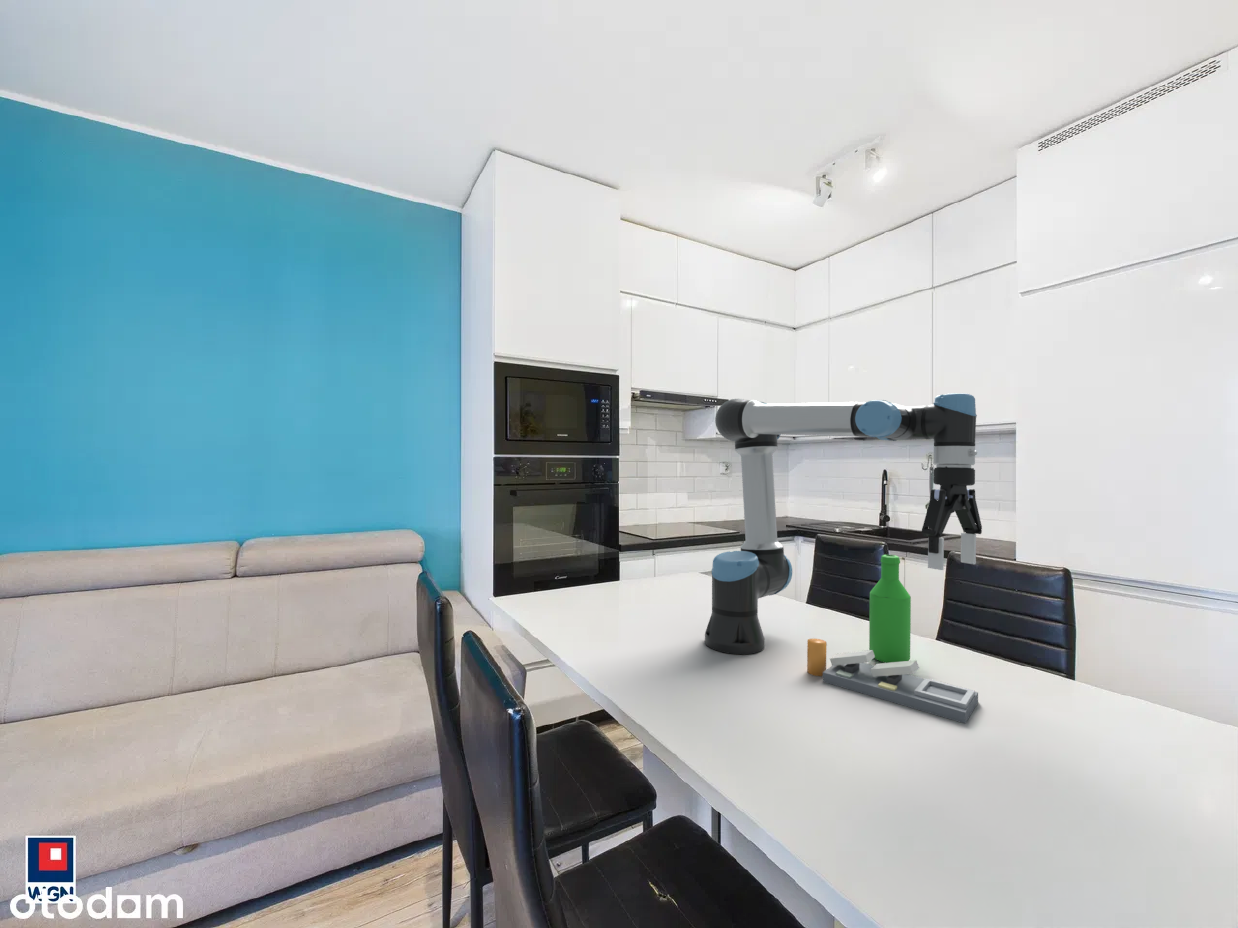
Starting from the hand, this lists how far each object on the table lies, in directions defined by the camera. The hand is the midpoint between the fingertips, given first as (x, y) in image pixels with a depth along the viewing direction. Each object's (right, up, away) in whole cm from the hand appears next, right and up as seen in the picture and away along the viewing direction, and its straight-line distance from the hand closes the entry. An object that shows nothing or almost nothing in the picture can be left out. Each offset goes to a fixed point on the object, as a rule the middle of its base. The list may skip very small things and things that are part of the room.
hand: (952, 566), depth 111 cm
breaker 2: (-14, -21, -3) cm, 25 cm away
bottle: (-6, -26, +15) cm, 30 cm away
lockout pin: (-27, -25, +6) cm, 37 cm away
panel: (-14, -25, -4) cm, 29 cm away
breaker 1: (-20, -21, +2) cm, 29 cm away
